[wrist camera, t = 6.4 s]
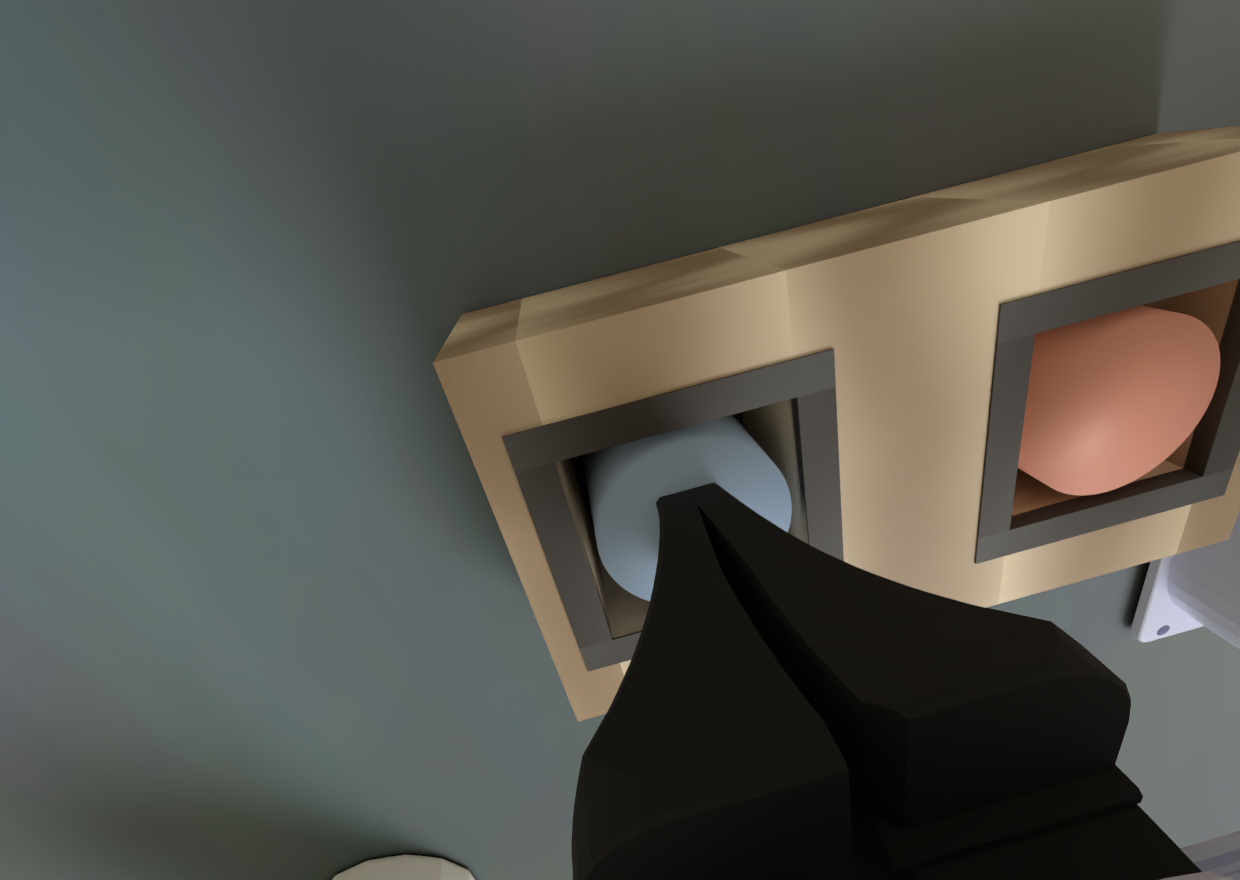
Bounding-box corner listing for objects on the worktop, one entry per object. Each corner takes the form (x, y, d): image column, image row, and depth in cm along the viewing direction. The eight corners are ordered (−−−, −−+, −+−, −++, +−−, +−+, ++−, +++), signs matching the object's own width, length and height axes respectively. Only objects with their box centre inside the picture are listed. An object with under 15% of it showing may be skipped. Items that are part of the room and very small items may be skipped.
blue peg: (724, 358, 14) (782, 413, 11) (744, 494, 16) (798, 576, 13) (564, 401, 14) (572, 469, 11) (603, 532, 16) (621, 625, 13)
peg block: (1159, 133, 13) (1387, 113, 10) (1090, 468, 18) (1231, 540, 14) (462, 314, 13) (432, 363, 9) (569, 611, 17) (578, 723, 14)
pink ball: (1079, 264, 14) (1245, 289, 11) (1056, 409, 16) (1191, 468, 13) (925, 306, 14) (1044, 343, 11) (919, 446, 16) (1020, 515, 13)
